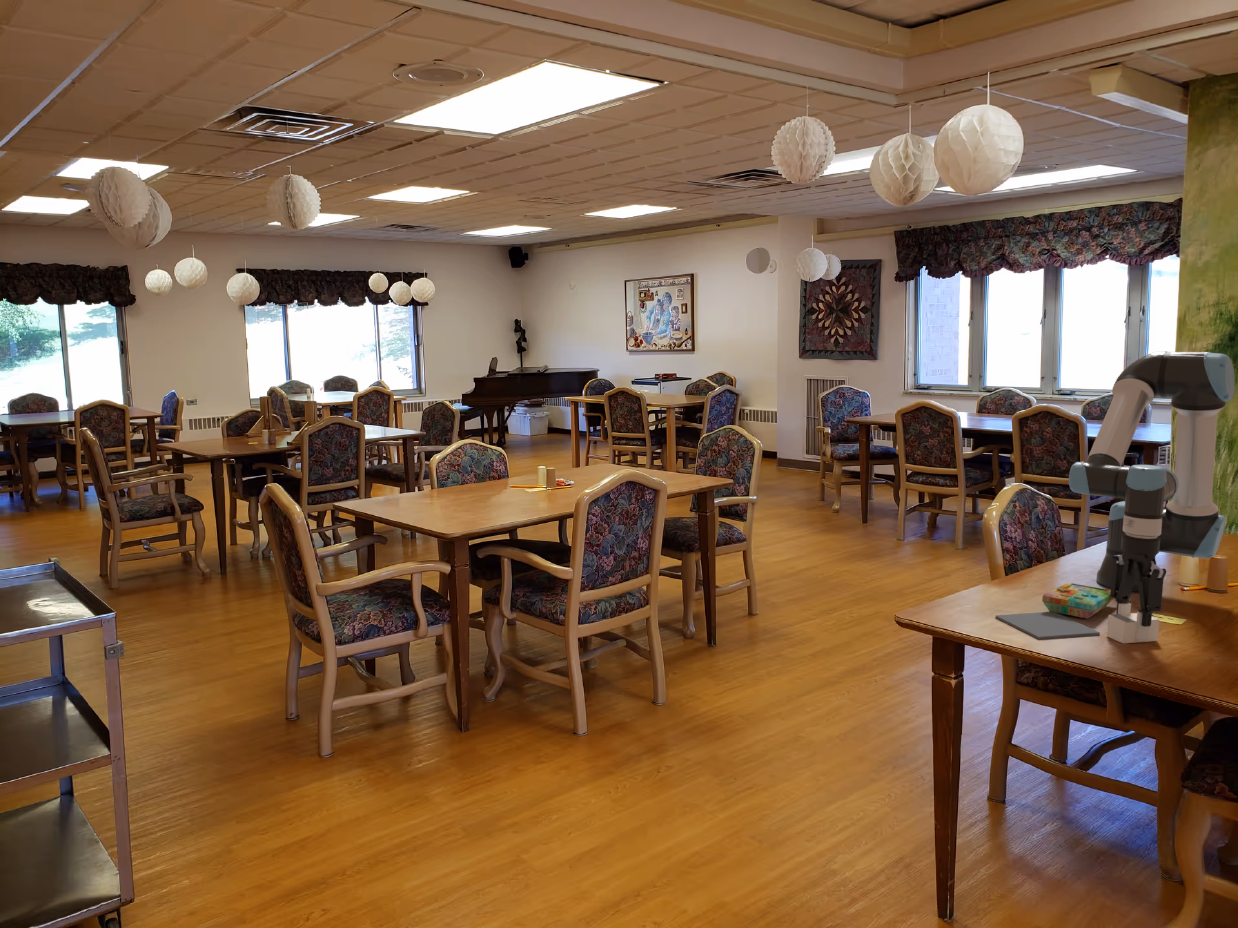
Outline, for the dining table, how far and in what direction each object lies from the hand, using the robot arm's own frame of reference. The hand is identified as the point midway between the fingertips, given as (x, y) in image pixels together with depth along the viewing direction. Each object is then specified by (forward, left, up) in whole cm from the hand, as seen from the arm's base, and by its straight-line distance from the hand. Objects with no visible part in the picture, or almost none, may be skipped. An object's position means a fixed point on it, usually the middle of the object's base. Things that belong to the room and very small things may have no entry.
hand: (1131, 634), depth 212 cm
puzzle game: (-4, -22, -1) cm, 22 cm away
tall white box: (0, 0, -1) cm, 1 cm away
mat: (+13, -12, -1) cm, 18 cm away
